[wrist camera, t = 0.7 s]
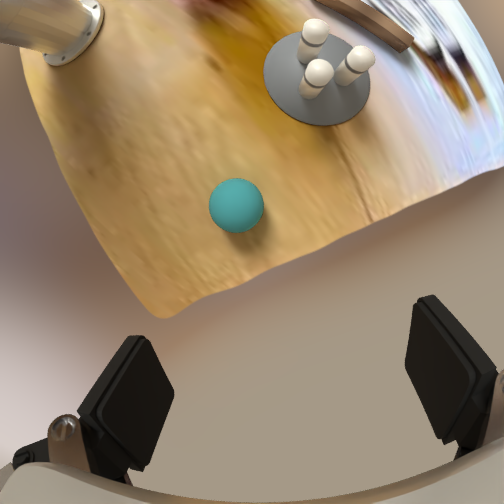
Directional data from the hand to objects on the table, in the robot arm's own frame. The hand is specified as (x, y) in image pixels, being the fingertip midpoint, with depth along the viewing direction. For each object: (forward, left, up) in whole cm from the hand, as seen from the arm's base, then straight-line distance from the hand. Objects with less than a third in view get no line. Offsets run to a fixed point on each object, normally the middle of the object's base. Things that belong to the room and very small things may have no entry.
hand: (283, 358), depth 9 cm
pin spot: (-4, +17, -26) cm, 31 cm away
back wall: (-4, +29, -26) cm, 39 cm away
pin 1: (-7, +19, -26) cm, 32 cm away
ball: (-4, -1, -23) cm, 23 cm away
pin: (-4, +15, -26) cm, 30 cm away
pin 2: (-2, +19, -26) cm, 32 cm away
